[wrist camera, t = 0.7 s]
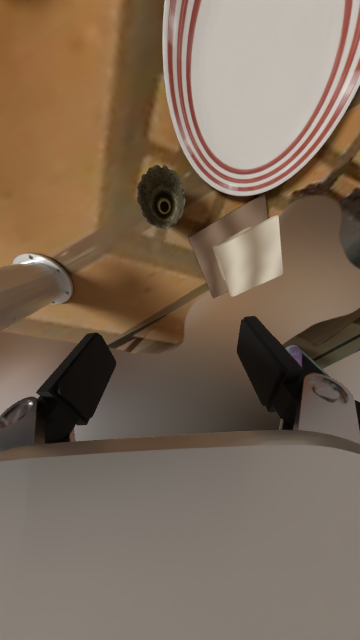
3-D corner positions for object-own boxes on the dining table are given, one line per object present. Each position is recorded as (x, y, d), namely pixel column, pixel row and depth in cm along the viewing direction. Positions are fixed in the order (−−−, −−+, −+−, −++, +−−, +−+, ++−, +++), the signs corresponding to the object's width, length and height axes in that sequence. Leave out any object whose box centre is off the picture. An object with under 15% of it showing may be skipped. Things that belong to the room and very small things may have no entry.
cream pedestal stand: (212, 296, 39) (222, 314, 31) (188, 237, 31) (193, 239, 23) (270, 268, 35) (300, 280, 27) (260, 194, 27) (298, 178, 19)
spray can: (286, 345, 51) (342, 401, 34) (301, 344, 51) (363, 401, 34) (280, 355, 54) (328, 412, 37) (294, 355, 54) (348, 411, 37)
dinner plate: (137, 136, 23) (132, 123, 20) (256, -380, 10) (287, -613, 7) (257, 227, 31) (265, 227, 28) (411, 1, 18) (455, -41, 15)
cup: (140, 187, 26) (128, 172, 19) (178, 176, 26) (179, 156, 19) (152, 232, 30) (146, 233, 24) (185, 224, 30) (189, 222, 23)
